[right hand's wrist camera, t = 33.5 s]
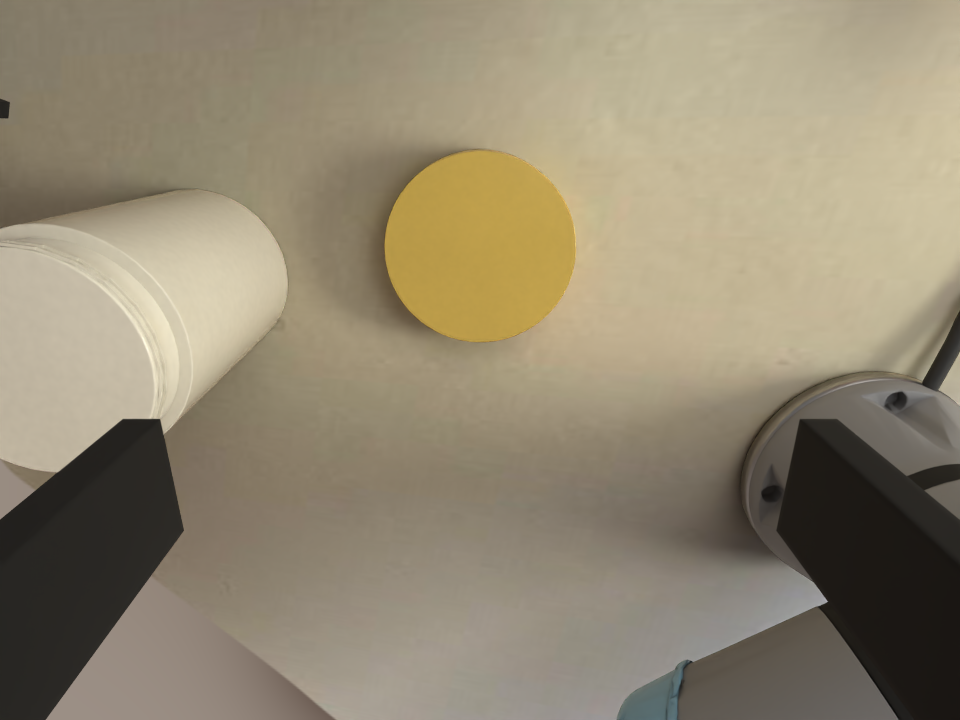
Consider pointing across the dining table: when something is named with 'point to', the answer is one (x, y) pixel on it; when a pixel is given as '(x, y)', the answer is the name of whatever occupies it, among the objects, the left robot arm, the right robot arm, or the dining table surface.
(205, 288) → the jar
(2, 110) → the left robot arm
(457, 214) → the lid
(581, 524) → the dining table surface
